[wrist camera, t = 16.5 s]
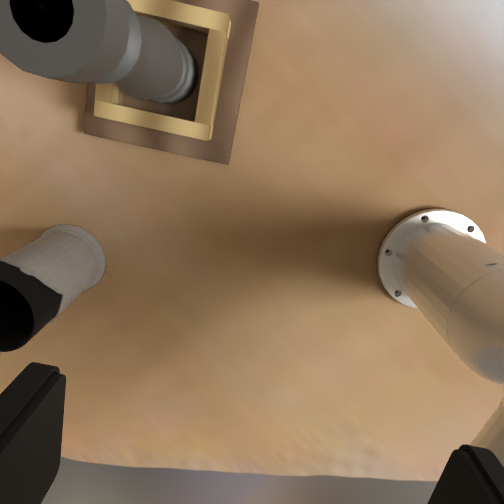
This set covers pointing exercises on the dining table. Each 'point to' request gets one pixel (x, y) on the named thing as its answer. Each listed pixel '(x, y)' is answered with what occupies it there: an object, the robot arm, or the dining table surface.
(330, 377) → the dining table surface
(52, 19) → the candle holder
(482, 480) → the robot arm
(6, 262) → the grey and black mug
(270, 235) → the dining table surface
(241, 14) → the socket base
